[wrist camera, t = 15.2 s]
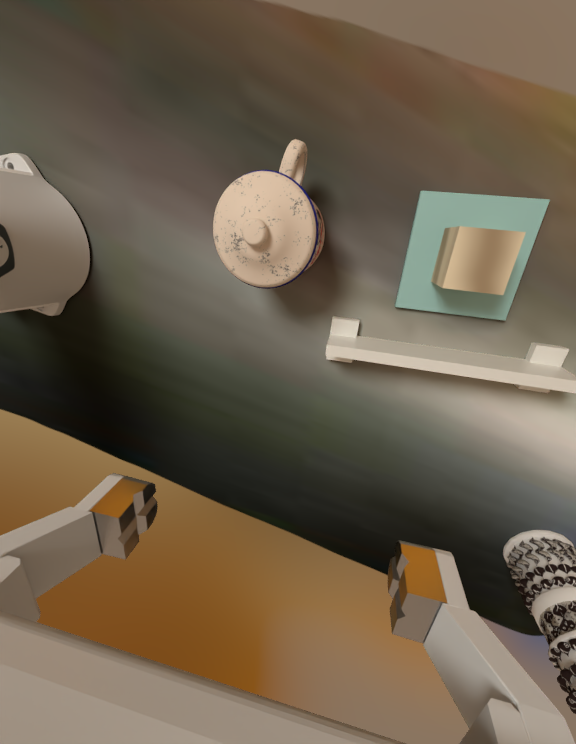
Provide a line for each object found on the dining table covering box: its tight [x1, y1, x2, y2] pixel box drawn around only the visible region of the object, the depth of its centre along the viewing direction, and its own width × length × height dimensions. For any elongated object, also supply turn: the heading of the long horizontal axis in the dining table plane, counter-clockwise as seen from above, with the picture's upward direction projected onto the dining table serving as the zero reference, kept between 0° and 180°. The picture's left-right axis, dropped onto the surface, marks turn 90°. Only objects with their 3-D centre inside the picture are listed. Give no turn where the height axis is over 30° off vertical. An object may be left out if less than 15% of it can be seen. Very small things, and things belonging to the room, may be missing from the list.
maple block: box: [431, 226, 526, 295], centre depth 29 cm, size 5×5×5 cm
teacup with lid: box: [213, 139, 325, 288], centre depth 28 cm, size 12×9×12 cm
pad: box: [395, 191, 550, 320], centre depth 31 cm, size 11×11×1 cm
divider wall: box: [326, 316, 576, 393], centre depth 33 cm, size 24×5×5 cm, turn 85°
